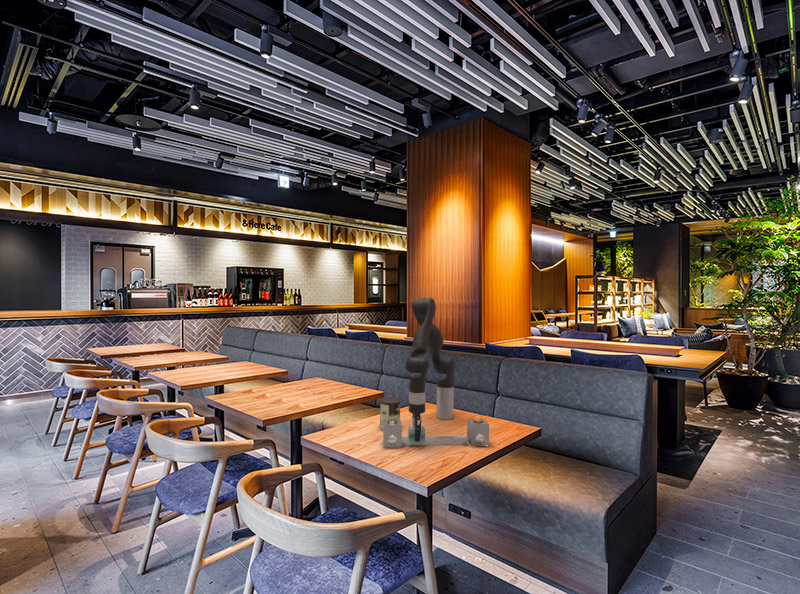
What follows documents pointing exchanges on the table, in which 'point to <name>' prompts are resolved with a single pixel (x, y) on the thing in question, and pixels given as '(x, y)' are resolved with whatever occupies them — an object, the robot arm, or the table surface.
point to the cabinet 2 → (478, 432)
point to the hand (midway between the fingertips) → (416, 438)
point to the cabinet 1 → (392, 434)
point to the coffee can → (389, 410)
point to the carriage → (412, 435)
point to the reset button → (477, 419)
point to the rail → (439, 440)
